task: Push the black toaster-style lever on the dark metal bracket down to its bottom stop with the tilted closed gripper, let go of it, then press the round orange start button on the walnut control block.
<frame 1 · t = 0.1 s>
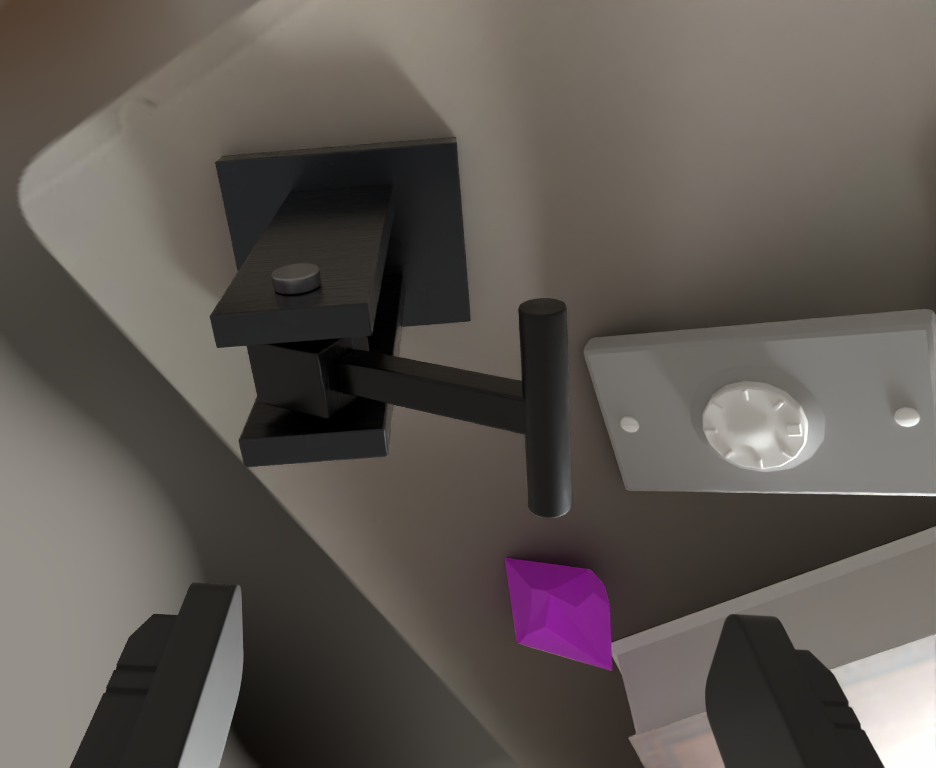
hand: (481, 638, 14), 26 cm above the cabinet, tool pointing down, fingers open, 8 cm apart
light switch: (730, 372, 41), on the cabinet
lever: (407, 383, 24), point 15 cm above the cabinet, hinge at 32.0°
bracket: (351, 237, 38), on the cabinet
book: (887, 699, 52), on the cabinet
crystal: (552, 580, 47), on the cabinet
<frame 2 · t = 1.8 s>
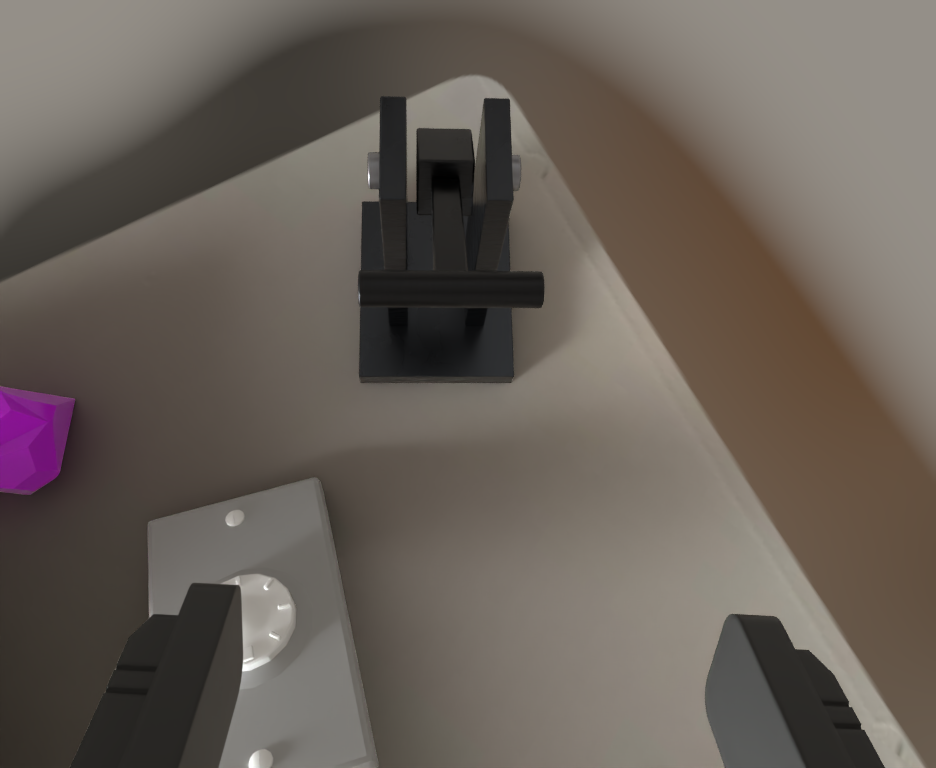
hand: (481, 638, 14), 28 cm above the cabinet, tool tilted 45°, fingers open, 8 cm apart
light switch: (266, 632, 41), on the cabinet
lever: (447, 219, 31), point 15 cm above the cabinet, hinge at 32.0°
bracket: (435, 295, 46), on the cabinet
crystal: (29, 449, 43), on the cabinet
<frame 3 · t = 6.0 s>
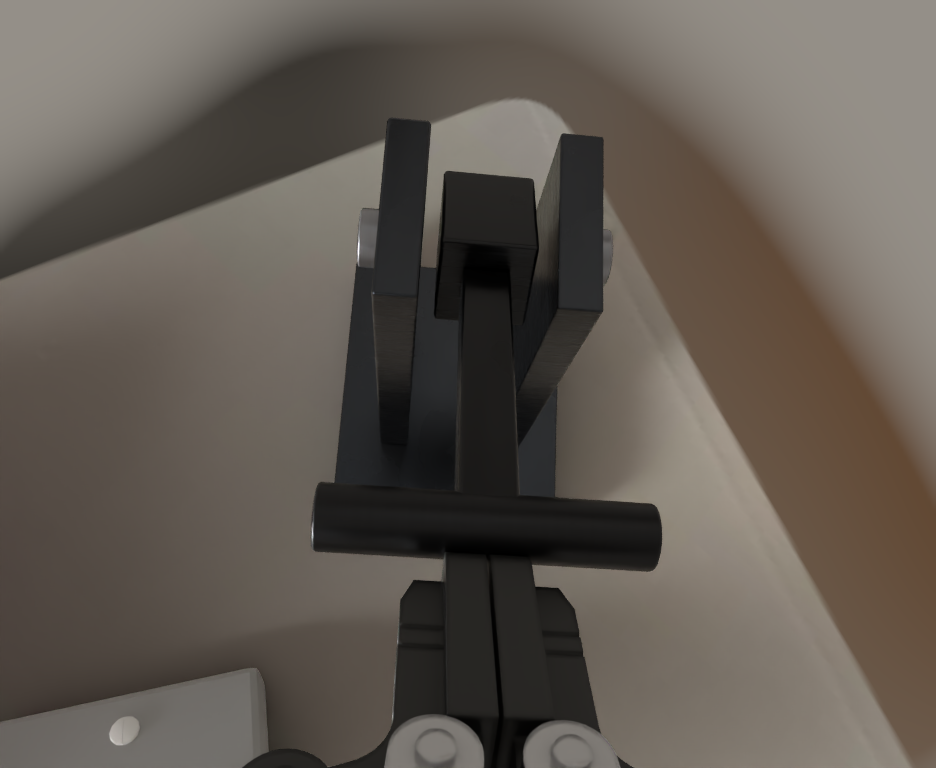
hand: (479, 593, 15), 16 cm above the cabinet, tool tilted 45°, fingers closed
lever: (485, 352, 18), point 15 cm above the cabinet, hinge at 25.7°, touching gripper
bracket: (449, 399, 33), on the cabinet
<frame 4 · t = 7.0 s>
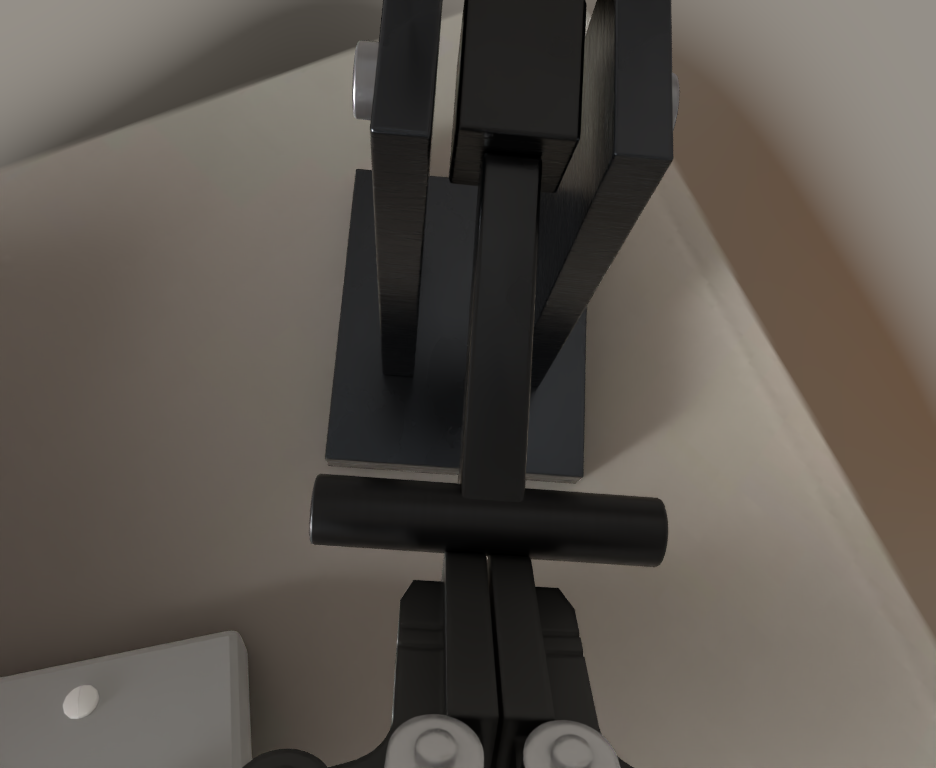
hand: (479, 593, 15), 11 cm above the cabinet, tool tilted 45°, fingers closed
lever: (503, 277, 15), point 13 cm above the cabinet, hinge at -6.0°, touching gripper
bracket: (462, 328, 28), on the cabinet
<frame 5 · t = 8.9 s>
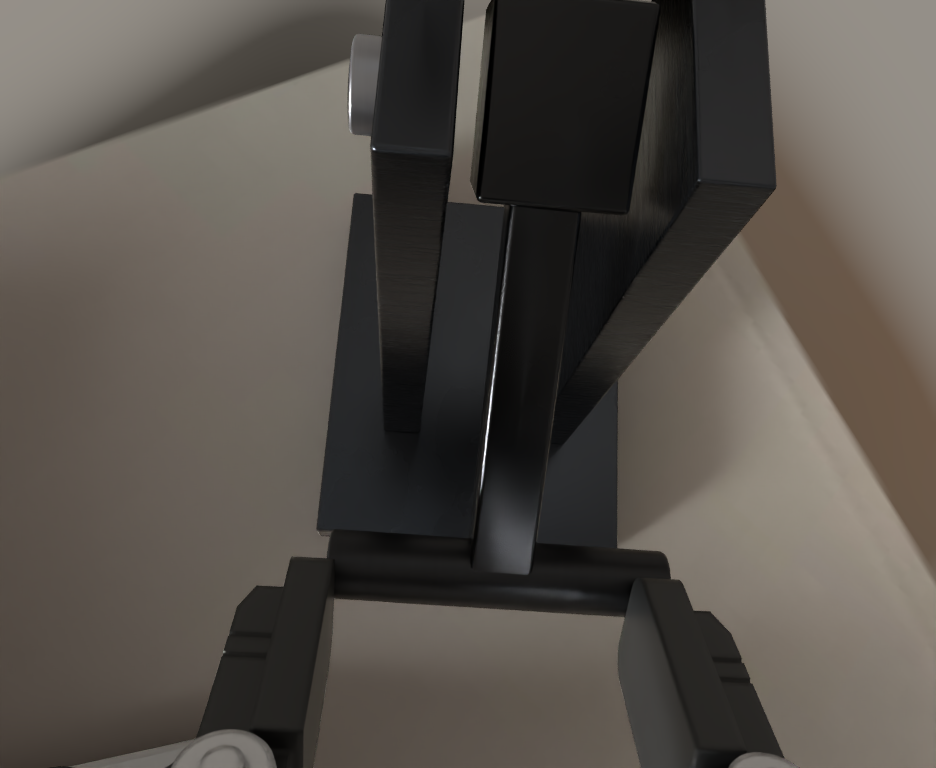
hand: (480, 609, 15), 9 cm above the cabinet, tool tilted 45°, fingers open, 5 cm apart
lever: (526, 337, 14), point 11 cm above the cabinet, hinge at -36.1°
bracket: (474, 375, 25), on the cabinet
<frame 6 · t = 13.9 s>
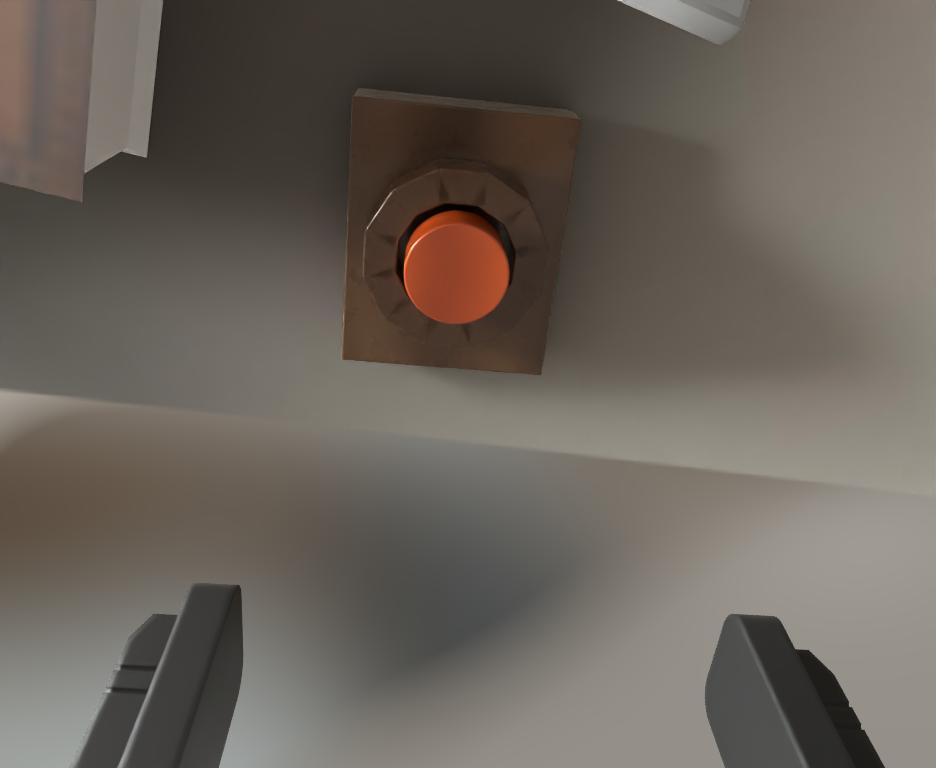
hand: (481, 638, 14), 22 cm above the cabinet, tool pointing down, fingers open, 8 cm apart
control block: (453, 230, 33), on the cabinet
start button: (456, 267, 29), point 5 cm above the cabinet, slide at 0.2 cm
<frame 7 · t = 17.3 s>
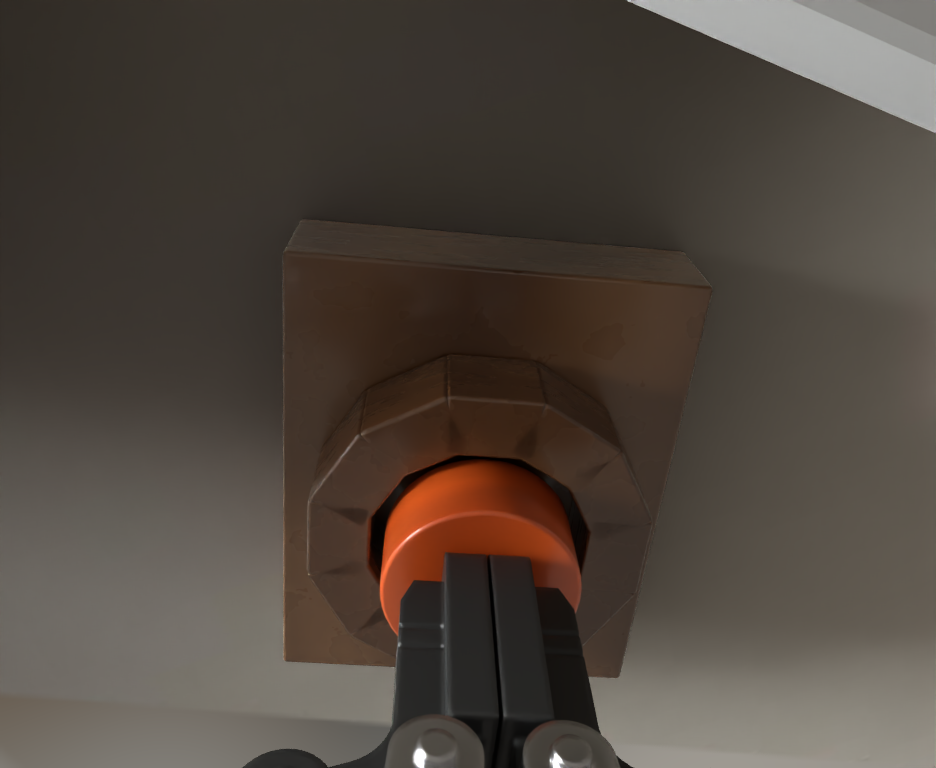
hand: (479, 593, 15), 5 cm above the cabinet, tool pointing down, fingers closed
control block: (471, 442, 20), on the cabinet
start button: (479, 564, 16), point 4 cm above the cabinet, slide at 0.0 cm, touching gripper
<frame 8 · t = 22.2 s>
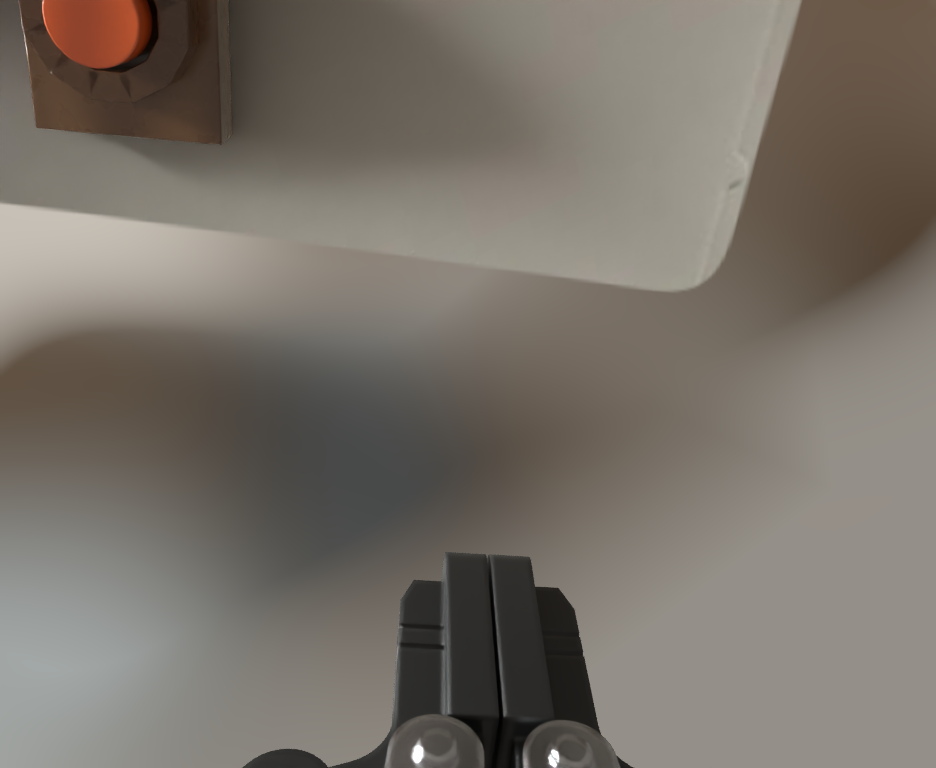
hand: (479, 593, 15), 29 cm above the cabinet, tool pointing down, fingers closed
control block: (136, 10, 37), on the cabinet
start button: (98, 17, 33), point 5 cm above the cabinet, slide at 0.2 cm
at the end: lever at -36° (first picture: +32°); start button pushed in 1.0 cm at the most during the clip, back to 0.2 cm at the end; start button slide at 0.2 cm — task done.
